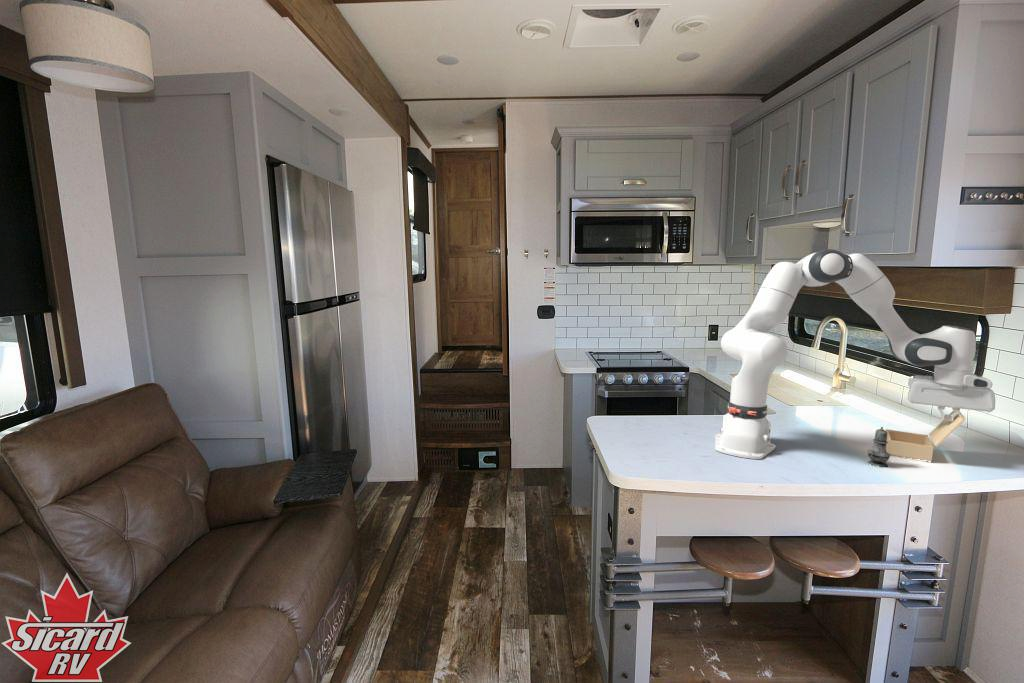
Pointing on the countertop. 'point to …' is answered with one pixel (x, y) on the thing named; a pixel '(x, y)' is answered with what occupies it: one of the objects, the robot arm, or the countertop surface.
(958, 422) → the lid
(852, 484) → the countertop surface
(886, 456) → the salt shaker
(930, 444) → the mailer box
